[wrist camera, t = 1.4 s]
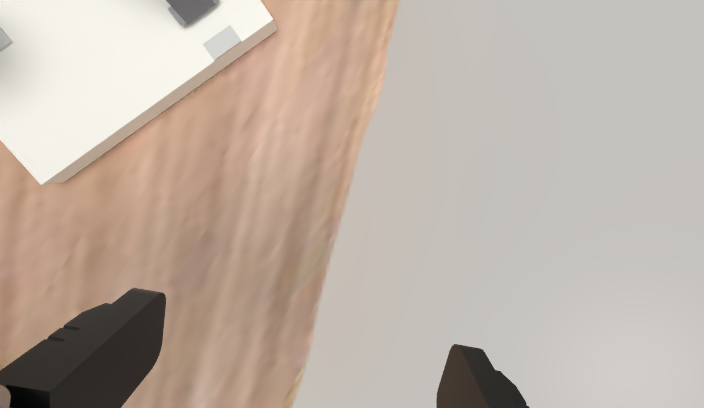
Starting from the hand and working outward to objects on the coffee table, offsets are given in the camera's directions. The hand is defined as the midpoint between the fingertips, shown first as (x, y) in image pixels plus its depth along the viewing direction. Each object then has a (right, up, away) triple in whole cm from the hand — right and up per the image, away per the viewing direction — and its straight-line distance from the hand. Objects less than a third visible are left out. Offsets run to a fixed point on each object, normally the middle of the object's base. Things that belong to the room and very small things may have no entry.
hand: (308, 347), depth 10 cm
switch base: (-22, +21, +23) cm, 38 cm away
